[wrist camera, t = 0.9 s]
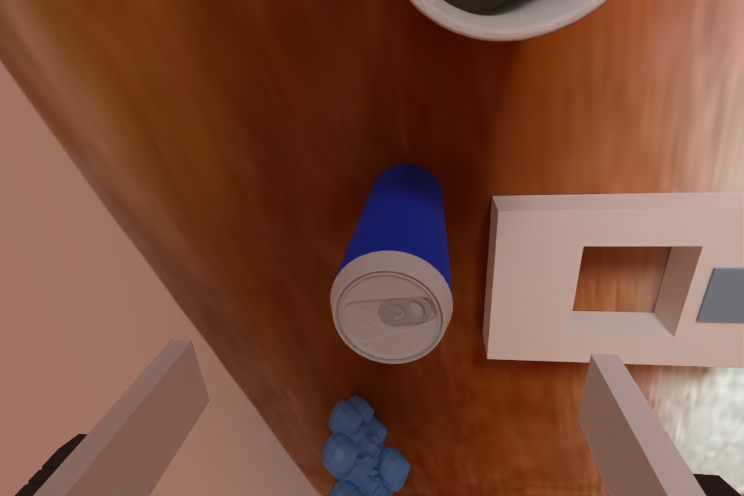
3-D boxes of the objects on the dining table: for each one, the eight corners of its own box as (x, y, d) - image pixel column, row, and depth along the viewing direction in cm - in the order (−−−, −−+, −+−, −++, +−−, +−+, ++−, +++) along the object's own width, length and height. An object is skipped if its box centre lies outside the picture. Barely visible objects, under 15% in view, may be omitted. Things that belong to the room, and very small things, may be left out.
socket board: (491, 196, 29) (498, 212, 26) (780, 191, 27) (822, 208, 24) (482, 334, 34) (487, 360, 31) (723, 341, 32) (752, 370, 29)
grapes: (435, 450, 41) (438, 593, 30) (373, 462, 43) (355, 601, 32) (388, 362, 37) (372, 492, 26) (322, 380, 39) (281, 508, 28)
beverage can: (383, 237, 32) (349, 377, 18) (361, 173, 30) (306, 278, 16) (450, 220, 30) (467, 358, 17) (432, 153, 28) (435, 248, 15)
